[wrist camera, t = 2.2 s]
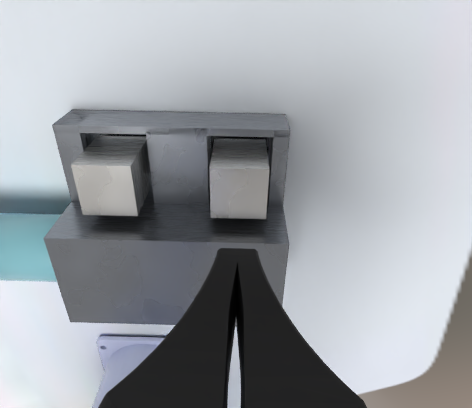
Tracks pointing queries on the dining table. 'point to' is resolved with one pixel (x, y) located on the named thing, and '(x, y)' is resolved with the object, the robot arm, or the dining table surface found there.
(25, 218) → the cylinder
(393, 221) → the dining table surface
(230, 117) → the housing
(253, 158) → the plunger
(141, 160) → the plunger
